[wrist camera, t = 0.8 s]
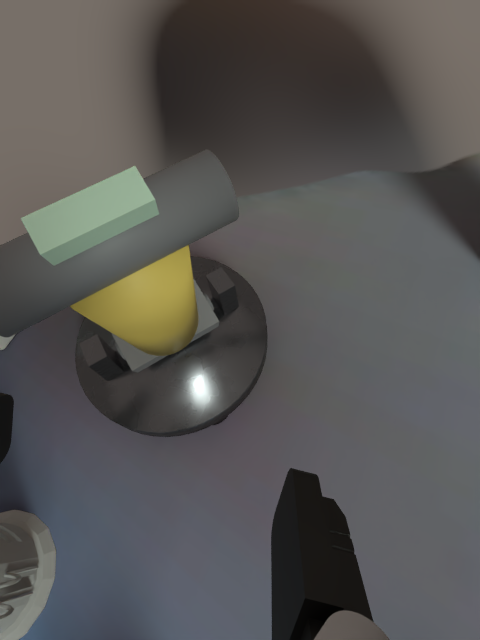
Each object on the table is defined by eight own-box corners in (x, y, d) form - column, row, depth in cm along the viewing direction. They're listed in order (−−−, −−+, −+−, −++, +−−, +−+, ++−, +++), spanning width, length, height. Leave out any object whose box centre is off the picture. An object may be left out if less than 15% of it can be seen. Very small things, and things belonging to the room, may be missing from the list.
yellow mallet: (198, 274, 34) (180, 80, 13) (230, 328, 33) (267, 215, 12) (101, 326, 32) (-106, 200, 11) (132, 383, 31) (-25, 368, 10)
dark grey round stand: (214, 256, 43) (202, 205, 35) (303, 376, 34) (310, 341, 27) (75, 330, 39) (30, 290, 32) (136, 481, 31) (94, 473, 24)
